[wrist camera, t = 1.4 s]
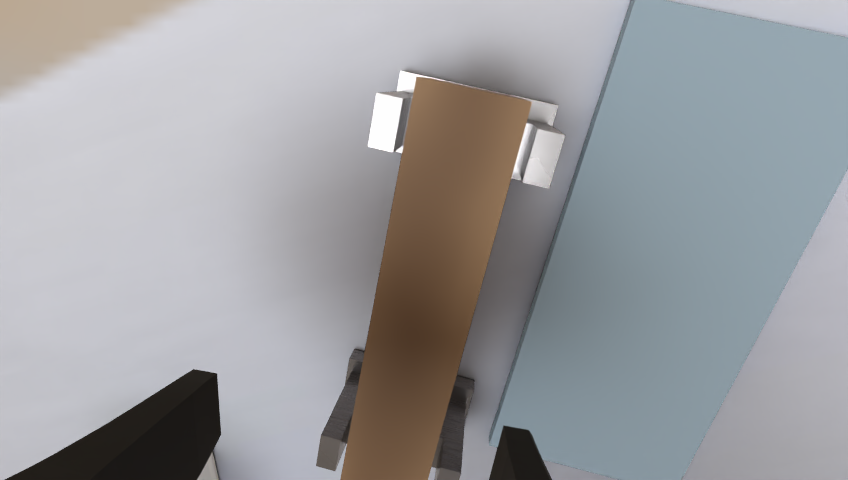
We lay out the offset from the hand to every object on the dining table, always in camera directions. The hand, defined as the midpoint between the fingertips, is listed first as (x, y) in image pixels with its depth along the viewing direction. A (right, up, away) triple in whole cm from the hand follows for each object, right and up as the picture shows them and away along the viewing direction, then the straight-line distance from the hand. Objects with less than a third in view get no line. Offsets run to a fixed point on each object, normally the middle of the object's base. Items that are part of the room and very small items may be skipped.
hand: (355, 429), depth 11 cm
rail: (+2, +2, +6) cm, 6 cm away
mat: (+11, +3, +8) cm, 14 cm away
